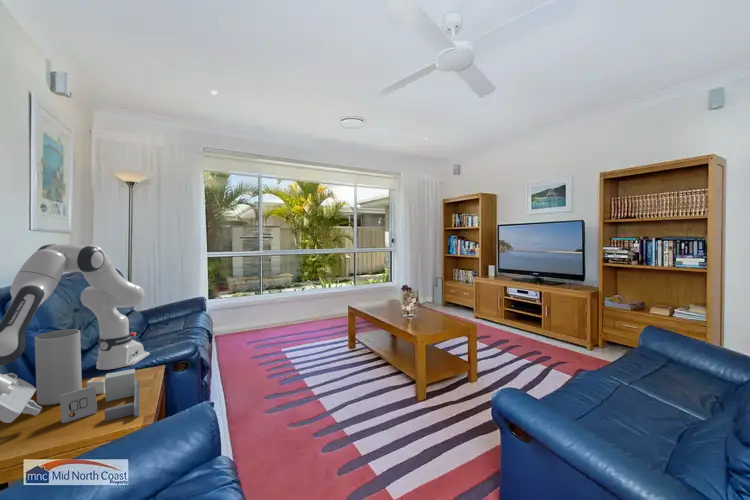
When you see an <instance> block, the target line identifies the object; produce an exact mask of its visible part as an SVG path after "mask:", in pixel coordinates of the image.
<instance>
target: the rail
mask: <svg viewBox="0 0 750 500" xmlns="http://www.w3.org/2000/svg"><path fill="white" fill-rule="evenodd" d="M140 383H141V382H140V380H138V379H135V393H134V398H133V402H134V414H133V418H137V417H140V404H141V402H140V401H141V399H140V398H141V397H140V395H141V387H140V386H141V384H140Z"/></svg>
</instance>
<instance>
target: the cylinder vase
mask: <svg viewBox="0 0 750 500" xmlns="http://www.w3.org/2000/svg"><path fill="white" fill-rule="evenodd" d="M81 343H82V341H81V330H79V329H61V330H60V329H59V330H53V331H48V332H45V333H40V334H38V335H36V336H35V337H34V356H35V357H34V360H35V383H36V386H35V388H36V404H37V405H39V406H52V405H57V404H58V405H60V401H59V397H60V396H61V395H63V394H67V393H70V392H74V391H77V390H81V389H83V384H82V382H83V381H82V378H83V377H82V352H81V351H82V350H81V349H82V347H81V345H82V344H81Z"/></svg>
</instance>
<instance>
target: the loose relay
mask: <svg viewBox="0 0 750 500" xmlns="http://www.w3.org/2000/svg"><path fill="white" fill-rule="evenodd" d="M105 377H106V376H105ZM105 377H93V378H91V379H89V380H88V381H87V382H85V383H86V388H88V387H92V386H94V387H95V391H96V395H99V394H101V395H103V394H105Z"/></svg>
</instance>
